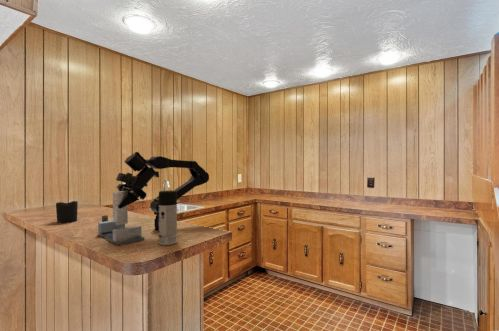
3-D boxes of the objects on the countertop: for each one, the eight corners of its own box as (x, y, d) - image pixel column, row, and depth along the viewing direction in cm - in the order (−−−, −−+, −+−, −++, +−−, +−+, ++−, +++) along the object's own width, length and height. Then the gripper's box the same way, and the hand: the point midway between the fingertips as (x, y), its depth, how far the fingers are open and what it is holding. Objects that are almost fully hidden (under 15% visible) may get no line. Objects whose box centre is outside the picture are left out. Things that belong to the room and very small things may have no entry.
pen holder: (68, 223, 134) (67, 204, 134) (51, 223, 136) (51, 203, 135) (82, 219, 144) (81, 201, 144) (66, 219, 145) (66, 201, 145)
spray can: (161, 240, 105) (160, 190, 105) (178, 240, 106) (178, 190, 105) (156, 246, 98) (156, 192, 98) (175, 245, 99) (174, 192, 99)
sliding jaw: (92, 228, 119) (91, 217, 119) (115, 224, 126) (115, 213, 126) (100, 233, 112) (100, 220, 112) (125, 228, 119) (124, 217, 119)
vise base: (97, 234, 114) (97, 223, 114) (122, 230, 121) (121, 219, 121) (118, 245, 99) (118, 232, 99) (144, 239, 106) (144, 227, 106)
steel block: (123, 221, 113) (122, 191, 113) (127, 223, 110) (127, 191, 110) (113, 223, 111) (112, 191, 110) (117, 225, 107) (116, 192, 107)
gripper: (120, 165, 119) (93, 192, 111) (137, 166, 106) (108, 197, 98) (138, 182, 125) (114, 208, 117) (157, 184, 112) (131, 214, 104)
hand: (116, 207), depth 109 cm, fingers closed on steel block, 5 cm apart
